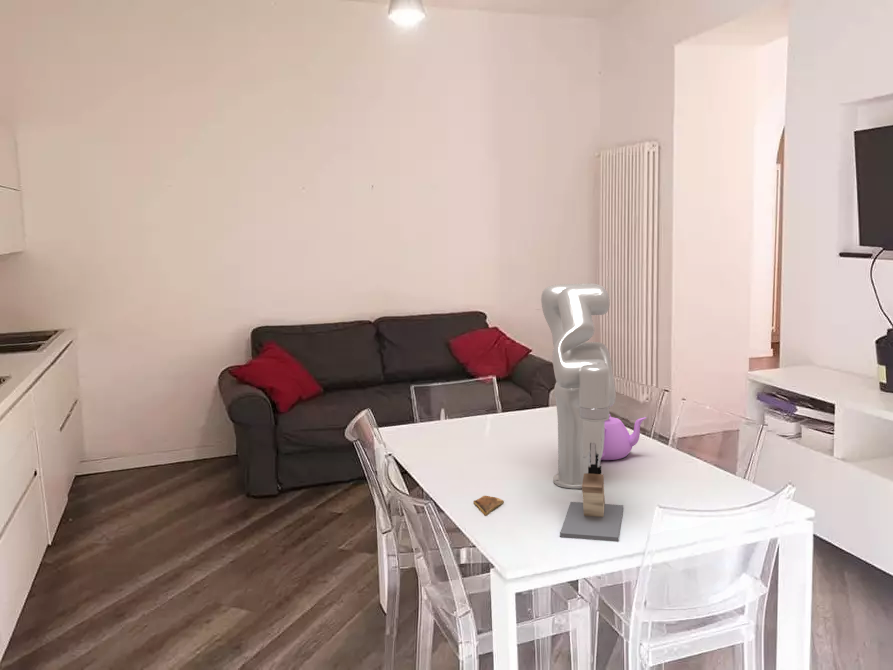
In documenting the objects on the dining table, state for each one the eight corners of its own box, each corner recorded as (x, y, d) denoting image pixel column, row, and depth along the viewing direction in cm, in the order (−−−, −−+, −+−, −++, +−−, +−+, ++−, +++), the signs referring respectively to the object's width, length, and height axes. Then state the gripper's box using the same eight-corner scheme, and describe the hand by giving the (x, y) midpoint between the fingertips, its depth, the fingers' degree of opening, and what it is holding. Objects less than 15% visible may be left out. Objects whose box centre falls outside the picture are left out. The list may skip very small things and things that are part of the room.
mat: (570, 505, 219) (570, 501, 219) (623, 508, 215) (623, 505, 215) (560, 536, 198) (560, 533, 198) (618, 541, 194) (618, 537, 194)
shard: (485, 518, 213) (485, 511, 213) (461, 513, 217) (461, 506, 217) (505, 504, 222) (505, 498, 222) (481, 500, 226) (481, 494, 226)
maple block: (585, 502, 213) (583, 473, 208) (604, 503, 212) (603, 474, 206) (583, 515, 209) (582, 486, 204) (603, 516, 207) (602, 487, 202)
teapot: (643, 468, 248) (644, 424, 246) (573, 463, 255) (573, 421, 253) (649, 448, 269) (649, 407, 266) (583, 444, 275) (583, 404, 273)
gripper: (582, 405, 215) (583, 472, 218) (576, 419, 201) (577, 490, 204) (611, 406, 213) (611, 473, 216) (607, 420, 199) (607, 491, 202)
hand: (594, 481), depth 210 cm, fingers closed
